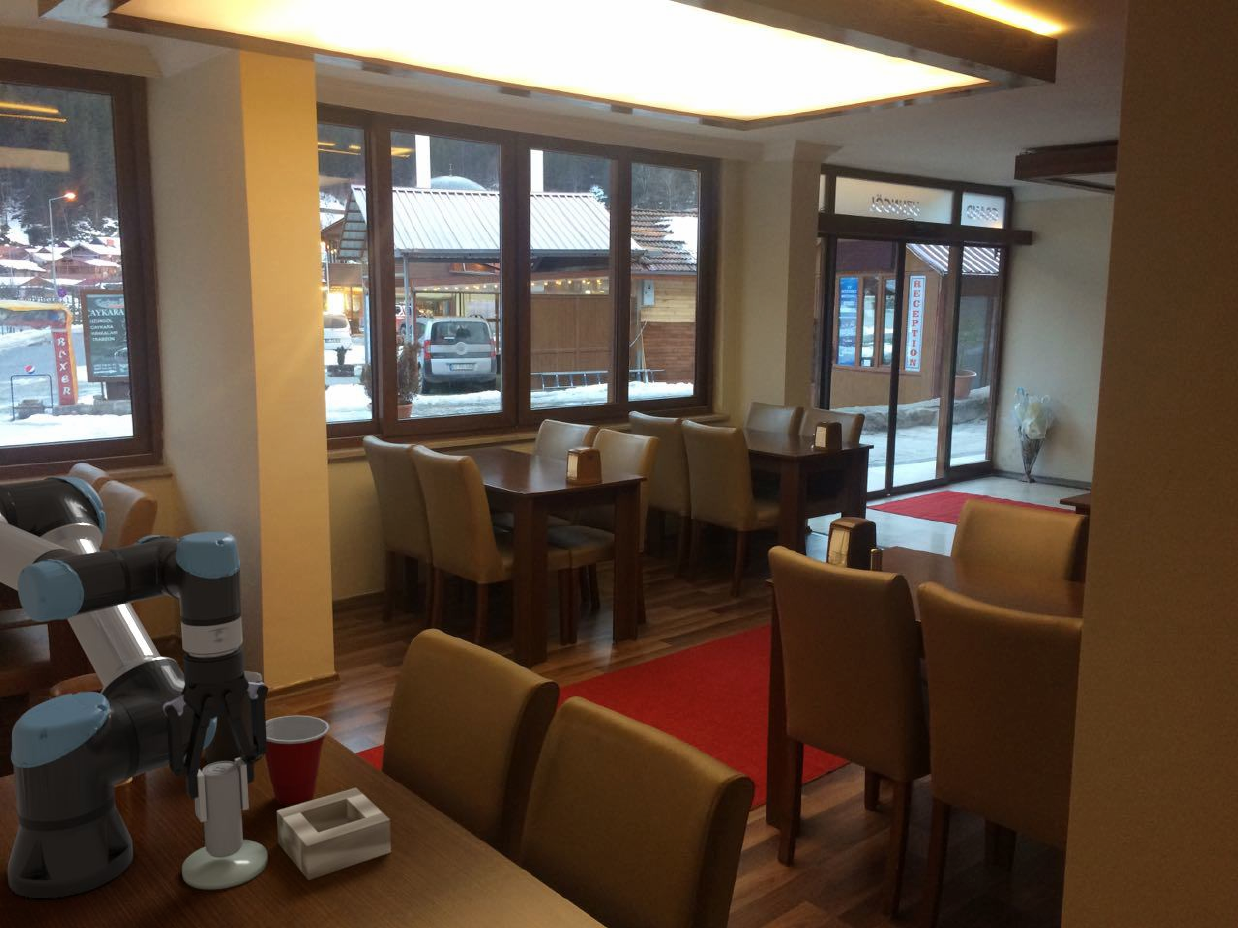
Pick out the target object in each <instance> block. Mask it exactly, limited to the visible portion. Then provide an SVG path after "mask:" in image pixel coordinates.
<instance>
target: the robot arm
mask: <svg viewBox="0 0 1238 928" xmlns="http://www.w3.org/2000/svg"><path fill="white" fill-rule="evenodd" d="M103 507H104V505H103V502H102V499H101V498H100V496H99V493H98V492H97V491H96V490H95V488H94V487H93V486H92V485H91V484H90V483H89V482H87V480H84V479H82V478H80V477H76V476H61V477H59V476H52V477H50V476H49V477H47V478H43V479H41V480H40V479H39V480H32V481H31V480H30V481H22V482H13V483H5V484H0V583H2V584H4V585H6V586H8V587H10V588H12V589H14V590H15V591H17V593H18V594H17V595H18V599H19V602H20V605H21V607H22V610H23V611H25V612H26V615H27V617H28V618H30V619H31V620H32V621H34V622H39V623H40V622H41V623H43V622H48V621H54V620H67V621H68V623H69V624H70V627H71V629H72V631H73V633H74V634H75V636H76V638H77V639H78V641H79V643H80V646H81V648H82V649H83V651H84V652H85V655H86V657H87V658H88V660H89V662H90V664H91V666H92V668H93V670H94V671H95V673H96V675H97V678H98V679H99V681H100V682H101V684H102V686H103V688H102V690H101V692H100V693H99V692H95V691H79V692H77V693H76V694H72V693H67V694H62V695H60V696H57V697H54V698H50V699H47V700H46V701H44V702H41V703H39V704H37V705H35V706H34V707H31V708H30V709H29V710H27V711H26V712H25V713H23V714H22V715H21V716H20V718H19V719H18V720H17V721H16V722H15V724H14V725H13V727H12V732H11V747H12V748H11V753H10V760H11V762H12V765H13V775H14V785H15V798H16V806H17V807H16V808H17V816H18V817H17V818H18V828H17V832H16V835H15V840H14V843H13V846H12V850H11V854H10V858H9V860H8V863H7V880H8V882H7V883H8V887H9V886H10V887H9V889H10V888H11V889H12V890H11V889H10V890H11V891H12V892H13V891H14V892H15V894H16V895H18V894H19V895H18V896H20V895H22V896H21V897H23V896H25V897H24V898H27V897H29V898H28V899H33V898H53V899H59V898H58V897H61V898H66V897H65V896H67V897H71V896H70V895H72V896H75V894H76V895H78V894H82V893H85V892H86V893H87V892H88V891H91V890H95V889H97V888H98V887H100V886H103V885H105V884H107V883H109V882H110V881H112V880H114V879H116V878H117V877H118V876H120V875H121V874H122V873H124V872H125V870H127V869H128V867H129V866H130V865H131V864H132V861H133V858H134V851H133V850H134V849H133V840H132V837H131V834H130V833H129V830H128V827H126V824H125V821H124V820H123V819H122V816H121V814H120V812H119V810H118V808H117V807H116V798H115V797H116V795H115V785H116V784H117V783H120V782H122V781H125V780H128V779H129V780H130V779H131V778H134V777H137V776H140V775H142V774H145V773H148V772H151V771H153V770H157V769H159V768H163V767H165V766H168V765H169V769H170V770H171V772H172V773H173V774H174V776H175V777H180V776H185V788H186V791H185V792H186V793H187V795H188V797H189V799H190V800H192V799H194V808H195V809H194V810H195V815H196V817H197V818H198V820H199V822H200V823H204V821H207V812H206V795H205V777H204V774H203V773H202V770H201V768H200V766H201V760H202V757H203V752H204V751H205V749H206V748H207V747H208V746H209V744H210V743H211V741H212V739H213V737H214V734H215V731H216V725H217V716H226V715H227V718H228V720H229V723H230V726H231V729H232V732H233V735H234V738H235V741H236V744H237V746H238V749H239V752H240V755H241V758H236V759H235V763H236V764H237V765H238V769H239V778H240V797H241V810H242V811H245V810H246V811H247V810H249V807H250V806H249V789H248V786H249V785H248V784H252V783H254V781H255V768H254V767H255V765H254V764H255V763H256V762H257V760H256V757H257V756H259V755H260V754H261V755H263V754H264V755H265V753H266V752H267V737H266V721H267V720H266V703H265V702H266V699H267V695H268V693H269V687H268V686H267V685H266V684H265V683H264V682H263V681H262V682H261V681H257V682H255V683H254V682H248V681H247V679H246V678H245V674H244V671H245V658H244V656H245V655H244V654H245V653H244V648H243V646H242V644H243V641H244V640H243V636H244V635H243V622H242V597H241V596H242V595H241V560H240V557H239V550H238V542H237V539H236V538H235V536H234V535H232V534H231V533H228V532H225V531H219V532H218V531H201V532H194V533H190V534H187V535H183V536H181V537H180V538H175V537H173V536H169V535H159V534H158V535H157V534H156V535H155V534H153V535H152V534H151V535H146V536H143V537H141V538H140V539H139V540H137V541H136V542H134V543H133V544H131V545H128V546H123V547H117V548H111V549H105V550H101V549H100V547H101V545H102V544H103V536H104V534H105V532H106V528H107V516H106V512H105V511H104V510H103ZM162 596H168V597H171V598H175V599H177V600H179V607H180V608H179V609H180V610H179V612H180V628H181V642H182V643H181V645H182V650H183V651H185V652H184V653H183V655H182V658H183V659H182V661H183V662H182V663H183V671H182V669H181V667H180V665H179V663H178V662H177V661H176V660H175V658H171V657H167V656H161V654H160V653H159V651H158V650H157V648H156V646H155V644H154V643H153V641H152V638H151V637H150V636H149V633H148V632H147V630H146V628H145V626H144V625H143V623H142V622H141V619H140V618H139V616H138V614H137V613H136V611H135V610H134V607H133V605H132V603H136V602H140V601H145V600H149V599H155V598H158V597H162ZM246 691H248V696H249V697H250V698H251V699H250V704H251V721H252V739H253V745H251V746H250V743H249V740H248V737H247V734H246V731H245V728H244V725H243V722H242V719H241V714H240V711H239V708H238V704H239V703H240V701H241V700H242V698H243V696H244V695H245V693H246ZM264 755H263V756H264ZM14 892H13V893H14Z"/></svg>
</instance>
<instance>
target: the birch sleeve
mask: <svg viewBox="0 0 1238 928" xmlns="http://www.w3.org/2000/svg"><path fill="white" fill-rule="evenodd" d="M276 821H277V825H276V827H277V844H278V845H279V846H280V847H281V848H282V849H283V851H284V852H285V853H286V855H287V856H288V857H289V858H290V859H291V861H292V862H293V863H294V864H295V866H296V867H297V868H298V870H299V871H301V873H302V875H304V877H305V878H306V879H307V881H310V880H314V879H316V878H319V877H323V876H325V875H328V874H331V873H334V872H337V871H339V870H343V869H346V868H349V867H351V866H354V865H355V866H356V865H358V864H361V863H363V862H366V861H369V860H373V859H375V858H378V857H381V856H385V855H386V854H387V855H388V854H389V853H392V850H391V849H392V846H391V845H392V842H391V819H390V818H389V817H388V816H387V815H385V813H384V812H383V811H382V810H381V809H379V807H377V805H375V803H373V802H372V801H371V800H370V799H369V798H368V797H367V796H366V795H365V794H364V793H363V792H361V791H360V789H358V788H357V787H353V788H349V789H347V790H342V791H339V792H336V793H333V794H330V795H326V796H322V797H319V798H315V799H311V800H310V801H308V802H305V803H301V804H298V805H294V806H286V807H285V808H280V809H278V810H276Z"/></svg>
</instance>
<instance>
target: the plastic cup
mask: <svg viewBox="0 0 1238 928" xmlns="http://www.w3.org/2000/svg"><path fill="white" fill-rule="evenodd" d="M329 730H330V725H329V722H327V721H326V720H323V719H322V718H318V717H315V716H310V715H298V714H297V715H285V716H280V717H274V718H270V719H268V720H266V737H267V752H266V753H265V754H264V755H265V759H266V765H267V770H268V775H269V778H270V783H271V785H272V790H273V793H274V799H275V801H276V803H277V804H279V805H281V806H285V807H291V806H294V805H298V804H301V803H305V802H308V801H311V800H313V798H314V795H315V792H316V787H317V785H316V784H317V778H318V776H319V775H318V774H319V770H320V762H321V761H320V760H321V754H322V747H323V745H324V740H325V739H326V735H327V734H328V732H329Z"/></svg>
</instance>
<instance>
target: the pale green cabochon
mask: <svg viewBox="0 0 1238 928" xmlns="http://www.w3.org/2000/svg"><path fill="white" fill-rule="evenodd" d="M267 864H268V850H267V848H266V847H265V846H264V845H263V844H262V843H259V842H257V841H253V840H249V839H243V845H242V847H241V848H240V850H239V851H238V852H236V853H235V854H233V855H231V856H228V857H222V858H216V857H213V856H211V855H210V854H209V853H208V852H207V851H206V845H204V847H201V848H199V849H197V850H195V851H193V852H192V853H190V855H188V856H187V858H185V860H184V861H183V863H182V866H181V874H182V879H183V882H185V883H186V884H187V885H188V886H189V887H192V888H196V889H200V890H222V889H229V888H233V887H235V886H236V887H237V886H238V885H242V884H245V883H247V882H249V881H251V880H252V879H255V878H256V877H257V876H258V875H260V874H261V873H262V872H264V870H265V869H266V867H267V866H268V865H267Z"/></svg>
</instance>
